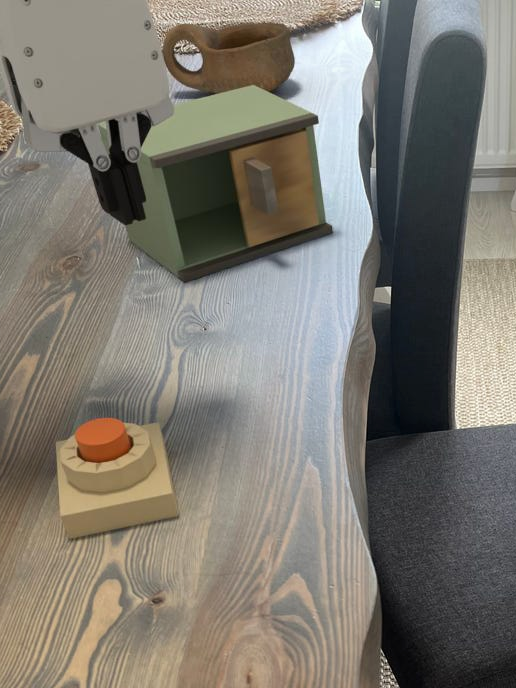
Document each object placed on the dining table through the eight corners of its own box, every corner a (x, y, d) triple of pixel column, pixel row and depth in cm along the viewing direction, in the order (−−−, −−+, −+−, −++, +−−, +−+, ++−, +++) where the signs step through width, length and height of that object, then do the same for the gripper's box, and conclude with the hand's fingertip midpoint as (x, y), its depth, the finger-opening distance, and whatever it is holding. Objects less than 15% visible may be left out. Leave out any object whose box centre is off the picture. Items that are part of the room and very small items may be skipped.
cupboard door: (266, 258, 103) (248, 161, 96) (246, 245, 106) (228, 149, 99) (336, 235, 107) (324, 139, 100) (316, 223, 109) (303, 129, 102)
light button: (133, 459, 74) (126, 439, 73) (83, 469, 74) (75, 449, 72) (129, 433, 77) (122, 413, 76) (80, 442, 76) (73, 422, 75)
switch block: (179, 516, 75) (166, 472, 72) (69, 539, 74) (51, 495, 71) (165, 444, 82) (152, 402, 79) (64, 464, 80) (47, 421, 78)
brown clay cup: (178, 109, 136) (157, 23, 131) (174, 109, 147) (155, 30, 142) (307, 91, 139) (292, 6, 134) (293, 92, 151) (279, 14, 146)
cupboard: (184, 282, 103) (154, 160, 94) (129, 240, 110) (97, 123, 101) (333, 232, 110) (318, 115, 102) (272, 196, 118) (253, 84, 109)
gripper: (128, -105, 68) (192, 176, 81) (-98, -69, 61) (11, 231, 74) (181, -91, 63) (240, 203, 76) (-55, -51, 57) (53, 264, 70)
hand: (127, 216), depth 75 cm, fingers closed
